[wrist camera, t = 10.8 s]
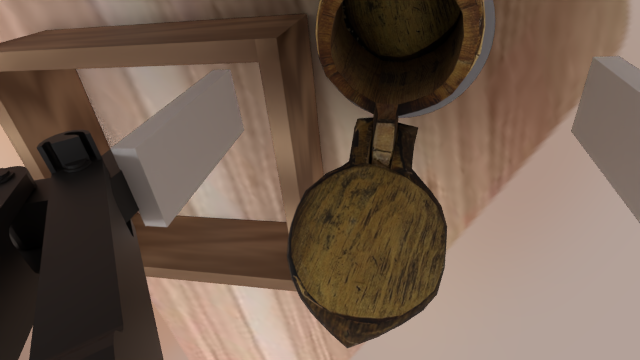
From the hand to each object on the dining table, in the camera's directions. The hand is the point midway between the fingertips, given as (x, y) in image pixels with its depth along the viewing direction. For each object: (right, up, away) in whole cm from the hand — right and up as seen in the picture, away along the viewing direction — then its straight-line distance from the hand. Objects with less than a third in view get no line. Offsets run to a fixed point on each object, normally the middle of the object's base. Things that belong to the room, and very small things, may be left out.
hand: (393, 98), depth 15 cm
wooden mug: (+2, +6, +10) cm, 12 cm away
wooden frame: (-13, 0, +18) cm, 23 cm away
